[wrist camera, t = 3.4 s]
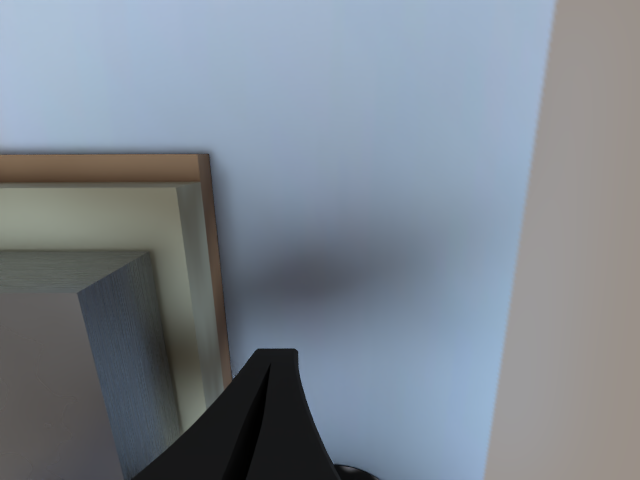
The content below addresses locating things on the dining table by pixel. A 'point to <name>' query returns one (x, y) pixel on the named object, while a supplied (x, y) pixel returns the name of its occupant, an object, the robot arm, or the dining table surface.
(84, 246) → the tan piece
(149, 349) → the metal block
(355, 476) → the white-spotted black cylinder
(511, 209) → the dining table surface
